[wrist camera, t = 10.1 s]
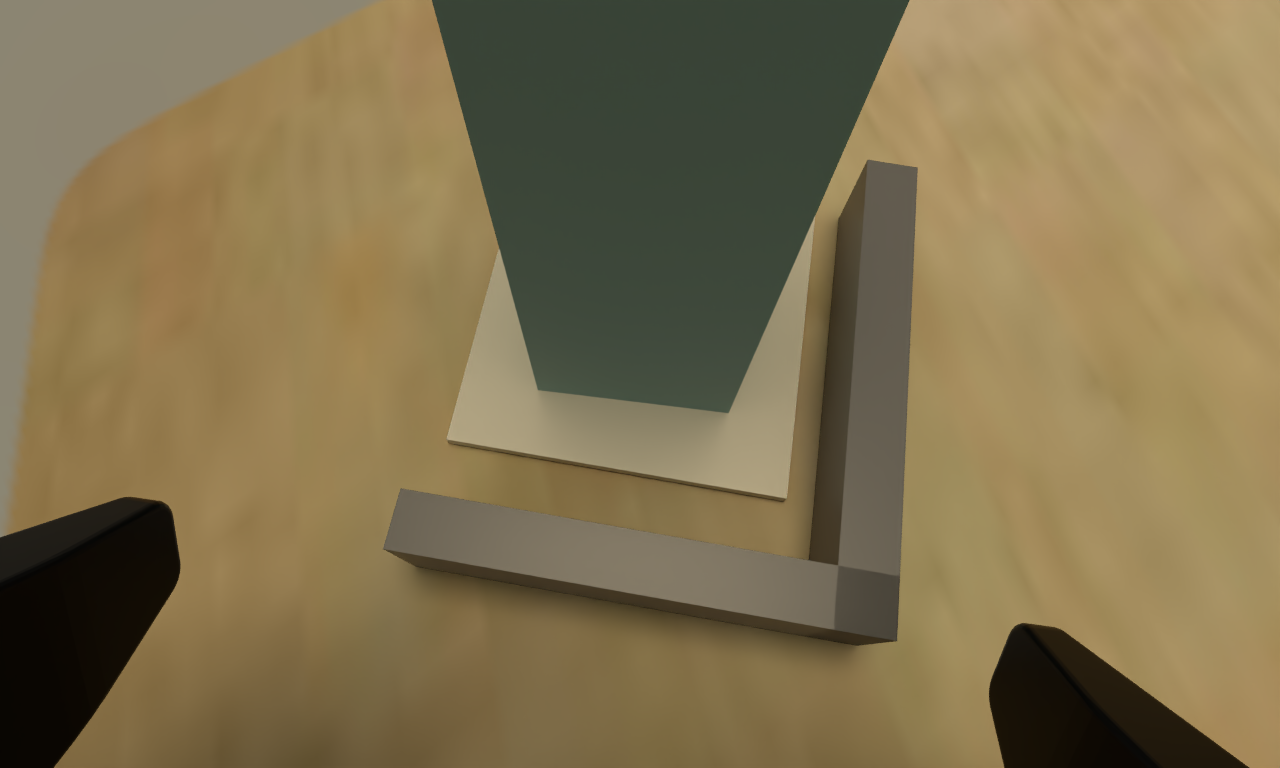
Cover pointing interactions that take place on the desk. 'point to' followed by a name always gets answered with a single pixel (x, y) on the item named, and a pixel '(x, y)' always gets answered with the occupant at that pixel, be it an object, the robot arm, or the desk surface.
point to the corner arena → (711, 455)
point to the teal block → (656, 172)
